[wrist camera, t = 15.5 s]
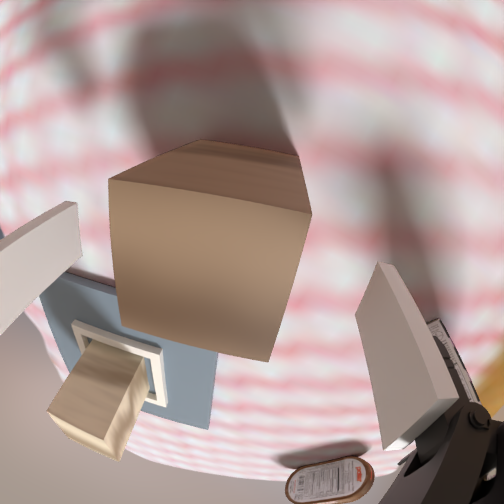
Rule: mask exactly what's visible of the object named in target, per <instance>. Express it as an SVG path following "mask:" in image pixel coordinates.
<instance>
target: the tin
mask: <svg viewBox="0 0 504 504" xmlns="http://www.w3.org/2000/svg"><path fill="white" fill-rule="evenodd" d="M373 482H374V470H373V468H372V466H371V465H370V464H369V463H368V462H366V461H365V460H363V459H361V458H359V457H354V456H349V457H344V458H339V459H335V460H331V461H326V462H322V463H316V464H311V465H306V466H303V467H300V468H298V469H297V470H295V471H294V472H293V473H292V474H291V475H290V477H289V478H288V480H287V483H286V487H285V494H286V497H287V498H288V499H289V501H291V502H292V503H294V504H343V503H348V502H353V501H356V500H358V499H360V498H361V497H362V496H364V495H365V494H366V493H367V492H368V491H369V490H370V488H371V487H372V485H373Z"/></svg>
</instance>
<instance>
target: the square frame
mask: <svg viewBox="0 0 504 504" xmlns="http://www.w3.org/2000/svg"><path fill="white" fill-rule="evenodd" d="M71 325H72V329H73V332H74V335H75V338H76V340H77V343H78V346H79V349H80V352H81V354H83V353H84V351H85V350H86V348H87V347H88V345H89V342H88V339H87V337H89V338H92V339H94V340H97V341H99V342H102V343H105V344H108V345H110V346H113V347H116V348H119V349H122V350H124V351H127V352H130V353H133V354H136V355H140V356H143V357H146V358H149V359H150V360H151V367H152V374H153V380H154V386H155V391H156V394H152V393H149V392H148V394H147V396H146V398H145V401H147V402H150V403H153V404H156V405H159V406H163V407H167V404H168V398H167V389H166V381H165V371H164V361H163V349H161V348H158V347H154V346H151V345H147V344H144V343H141V342H138V341H135V340H131V339H128V338H125V337H122V336H119V335H116V334H113V333H111V332H108V331H105V330H102V329H99V328H97V327H94V326H91V325H89V324H86V323H83V322H81V321H78V320H76V319H75V320H74V321H73V322H72V324H71Z"/></svg>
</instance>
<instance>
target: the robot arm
mask: <svg viewBox="0 0 504 504" xmlns="http://www.w3.org/2000/svg"><path fill="white" fill-rule="evenodd" d="M82 256H83V255H82V248H81V239H80V230H79V218H78V204H77V203H76V202H70V201H65V202H63V203H61V204H59V205H57V206H56V207H54V208H52V209H50V210H48V211H47V212H45V213H43V214H41V215H40V216H38V217H36V218H35V219H33V220H31V221H30V222H28V223H26V224H25V225H23V226H22V227H20V228H18V229H17V230H15V231H14V232H12V233H11V234H9V235H7V236H6V237H4V238H3V239H1V240H0V335H1V334H2V333H3V332H4V331H5V330H6V329H7V328H8V326H9V325H10V324H11V323H12V322H13V321H14V320H15V319H16V318H17V317H18V316H19V315H20V314H21V313H22V312H23V311H24V310H25V309H26V308H27V307H28V306H29V305H30V304H31V303H32V302H33V301H34V300H35V299H36V298H37V297H38V296H39V295H40V294H41V293H42V292H43V291H44V290H45V289H46V288H47V287H48V286H49V285H51V284H52V283H53V282H54V281H55V280H56V279H57V278H58V277H59V276H60V275H61V274H62V273H64V272H65V271H66V270H67V269H68V268H69V267H70V266H71V265H73V264H74V263H75V262H76V261H77V260H78V259H79V258H81V257H82ZM355 317H356V321H357V324H358V328H359V332H360V336H361V340H362V344H363V349H364V353H365V357H366V361H367V366H368V370H369V375H370V380H371V384H372V389H373V394H374V399H375V405H376V410H377V416H378V421H379V427H380V433H381V440H382V446H383V451H388V450H400V449H405V448H406V447H407V446H408V445H409V444H411V443H412V442H413V441H414V440H415V442H416V447H417V448H416V449H415V450H414V451H412V452H411V453H410V454H408V455H407V456H406V457H404V458H403V459H402V460H401V461H400V462H399V463H398V465H399V466H400V465H401V464H403V463H404V462H406V463H405V465H404V467H403V468H402V470H401V471H400V473H399V474H398V476H397V478H396V479H395V481H394V482H393V484H392V485H391V487H390V488H389V490H388V491H387V493H386V494H385V495H384V497H383V498H382V500H381V501H380V502H379V504H504V421H503V422H500V421H495V420H491V416H490V414H489V413H488V411H487V410H486V409H485V408H484V407H483V406H482V405H481V404H478V403H476V402H470V401H469V398H468V396H467V393H466V391H465V389H464V386H463V384H462V381H461V379H460V377H459V375H458V372H457V370H456V369H455V366H454V364H453V361H452V360H450V358H451V357H450V355H449V353H448V351H447V349H446V347H445V345H444V344H443V343H442V342H441V341H440V340H439V339H438V337H437V336H433V335H432V334H431V332H430V330H429V328H428V326H427V324H426V322H425V320H424V318H423V316H422V314H421V313H420V311H419V309H418V307H417V305H416V303H415V301H414V299H413V298H412V296H411V294H410V292H409V290H408V289H407V287H406V285H405V283H404V282H403V280H402V278H401V276H400V275H399V273H398V271H397V270H396V268H395V266H394V265H392V264H387V263H382V262H377V265H376V267H375V270H374V272H373V275H372V277H371V279H370V282H369V284H368V287H367V289H366V291H365V294H364V296H363V298H362V300H361V303H360V305H359V307H358V309H357V311H356V314H355ZM495 468H496V476H494V477H493V478H491V479H490V480H487V474H488V473H489V472H491V471H492V470H494V469H495Z"/></svg>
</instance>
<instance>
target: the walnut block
mask: <svg viewBox="0 0 504 504" xmlns="http://www.w3.org/2000/svg"><path fill="white" fill-rule="evenodd" d="M108 189H109V220H110V237H111V249H112V260H113V270H114V278H115V286H116V293H117V300H118V307H119V313H120V319H121V325H122V326H123V327H126V328H130V329H133V330H136V331H139V332H142V333H146V334H149V335H153V336H156V337H159V338H163V339H167V340H170V341H174V342H178V343H181V344H185V345H189V346H193V347H197V348H201V349H206V350H210V351H214V352H219V353H223V354H228V355H232V356H237V357H242V358H247V359H252V360H258V361H263V362H269V359H270V356H271V353H272V350H273V347H274V343H275V340H276V337H277V334H278V331H279V328H280V325H281V322H282V318H283V315H284V312H285V309H286V305H287V302H288V299H289V295H290V292H291V289H292V285H293V282H294V279H295V275H296V272H297V268H298V265H299V261H300V258H301V254H302V251H303V247H304V243H305V240H306V236H307V232H308V229H309V225H310V221H311V217H312V211H311V206H310V202H309V197H308V193H307V188H306V184H305V180H304V175H303V171H302V167H301V163H300V159H299V156H296V155H291V154H286V153H281V152H276V151H271V150H266V149H261V148H255V147H249V146H243V145H237V144H231V143H224V142H217V141H210V140H202V139H200V140H197V141H195V142H192V143H189V144H187V145H184V146H182V147H179V148H177V149H174V150H172V151H169V152H167V153H164V154H162V155H160V156H157V157H155V158H153V159H150V160H148V161H146V162H143V163H141V164H139V165H137V166H135V167H132V168H130V169H128V170H126V171H124V172H122V173H120V174H118V175H115V176H113V177H111V178H109V179H108Z"/></svg>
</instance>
